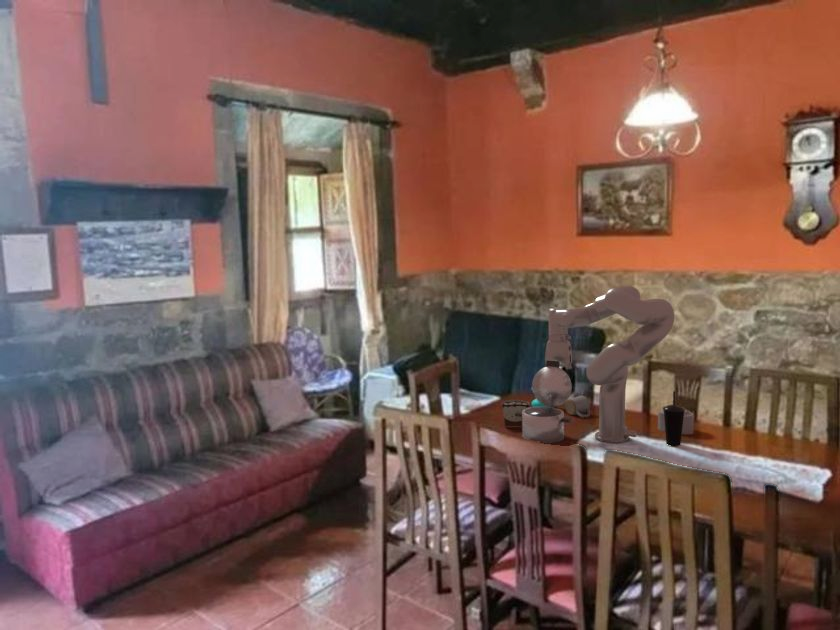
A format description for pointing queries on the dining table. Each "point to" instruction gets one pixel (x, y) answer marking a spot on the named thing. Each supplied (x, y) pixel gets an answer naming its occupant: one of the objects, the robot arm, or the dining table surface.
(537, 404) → the donuts
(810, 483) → the dining table surface
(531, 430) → the pot
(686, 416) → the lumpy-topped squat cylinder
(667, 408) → the drinking cup
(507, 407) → the food container
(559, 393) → the lid
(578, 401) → the ceramic mug
